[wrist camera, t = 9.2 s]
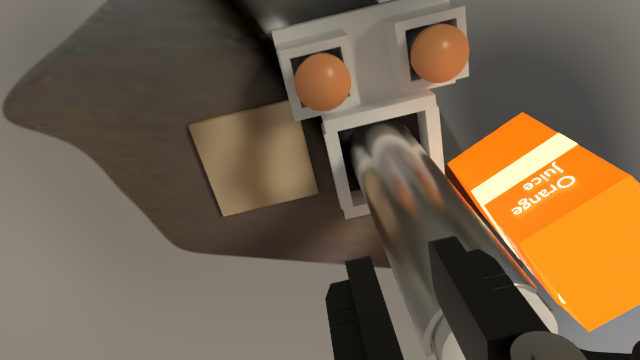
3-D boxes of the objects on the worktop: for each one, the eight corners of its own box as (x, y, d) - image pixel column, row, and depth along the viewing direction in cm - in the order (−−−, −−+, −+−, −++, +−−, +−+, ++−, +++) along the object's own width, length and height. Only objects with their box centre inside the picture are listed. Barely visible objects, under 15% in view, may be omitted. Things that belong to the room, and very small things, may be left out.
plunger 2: (442, 12, 35) (467, 18, 30) (447, 62, 37) (470, 75, 32) (393, 24, 35) (410, 32, 30) (399, 74, 37) (416, 89, 32)
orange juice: (552, 165, 45) (734, 296, 27) (479, 212, 47) (606, 363, 29) (522, 110, 42) (706, 216, 24) (445, 162, 44) (563, 297, 26)
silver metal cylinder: (344, 122, 41) (429, 312, 18) (411, 112, 41) (576, 286, 18) (351, 182, 43) (431, 408, 21) (413, 172, 44) (558, 385, 21)
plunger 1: (336, 38, 35) (345, 48, 31) (346, 87, 37) (355, 103, 32) (287, 50, 35) (288, 62, 31) (299, 99, 37) (302, 117, 33)
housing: (443, -13, 36) (468, -10, 31) (457, 176, 44) (479, 200, 40) (271, 30, 36) (270, 39, 32) (318, 209, 45) (323, 237, 40)
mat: (294, 98, 39) (295, 99, 38) (318, 190, 44) (318, 193, 43) (189, 123, 39) (188, 125, 39) (223, 213, 44) (223, 216, 43)
